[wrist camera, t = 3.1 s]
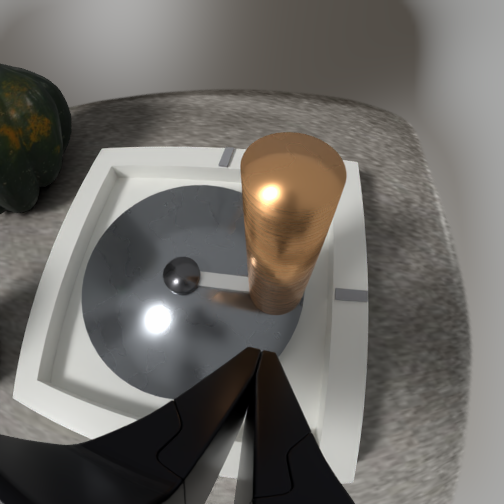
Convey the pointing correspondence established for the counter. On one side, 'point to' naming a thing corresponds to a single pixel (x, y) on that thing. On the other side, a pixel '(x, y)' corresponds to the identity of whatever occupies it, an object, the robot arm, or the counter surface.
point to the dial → (212, 266)
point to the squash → (29, 136)
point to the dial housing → (142, 404)
